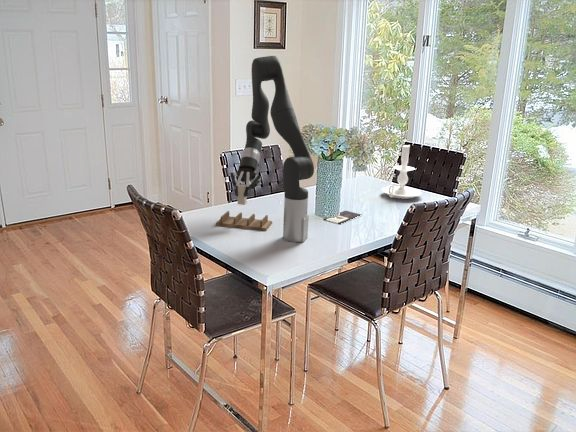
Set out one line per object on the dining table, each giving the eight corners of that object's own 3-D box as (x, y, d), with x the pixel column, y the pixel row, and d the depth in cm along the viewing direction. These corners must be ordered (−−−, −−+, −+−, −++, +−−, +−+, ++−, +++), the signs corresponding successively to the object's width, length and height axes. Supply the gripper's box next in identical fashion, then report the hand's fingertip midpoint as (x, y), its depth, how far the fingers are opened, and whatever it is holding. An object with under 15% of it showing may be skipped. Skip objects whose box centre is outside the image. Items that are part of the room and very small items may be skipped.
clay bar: (246, 202, 221) (246, 184, 218) (244, 204, 218) (244, 186, 215) (239, 202, 221) (240, 183, 219) (237, 204, 218) (237, 185, 216)
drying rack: (272, 223, 227) (272, 215, 226) (266, 230, 218) (266, 222, 217) (223, 218, 232) (223, 210, 231) (215, 225, 223) (215, 216, 221)
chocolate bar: (361, 214, 243) (340, 223, 230) (361, 216, 243) (340, 225, 230) (345, 210, 248) (323, 218, 235) (345, 212, 249) (323, 220, 235)
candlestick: (369, 198, 273) (374, 144, 264) (392, 189, 291) (397, 139, 283) (406, 206, 261) (412, 150, 252) (427, 197, 279) (433, 144, 271)
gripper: (232, 154, 222) (222, 189, 215) (264, 157, 219) (255, 192, 212) (235, 164, 229) (226, 198, 221) (267, 167, 226) (258, 201, 218)
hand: (240, 195), depth 216 cm, fingers closed on clay bar, 3 cm apart
